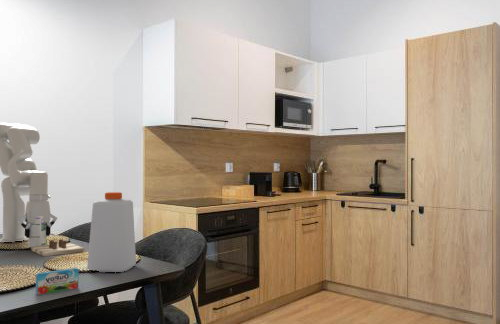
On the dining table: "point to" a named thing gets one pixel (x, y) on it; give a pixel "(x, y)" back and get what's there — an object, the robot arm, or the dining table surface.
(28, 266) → the dining table surface
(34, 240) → the syrup box
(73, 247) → the peg stand
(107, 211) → the plastic bottle
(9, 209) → the robot arm
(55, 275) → the yogurt
